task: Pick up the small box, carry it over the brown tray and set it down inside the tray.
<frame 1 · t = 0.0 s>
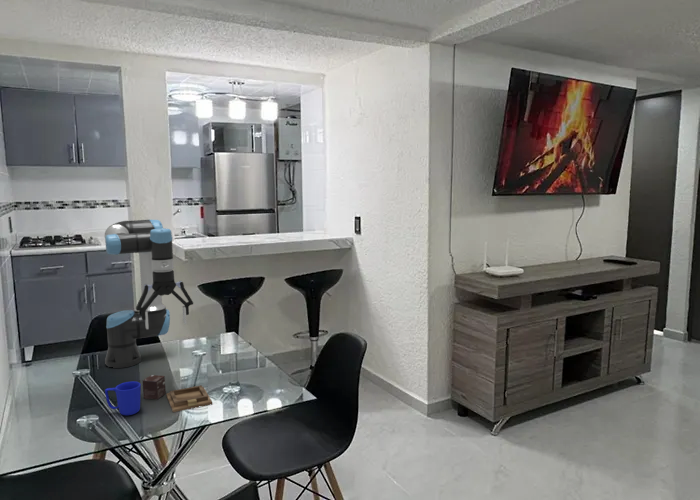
hand: (166, 325, 195), 28 cm above the table, fingers open, 13 cm apart
mug: (124, 413, 185), on the table
box: (154, 396, 199), on the table
brown tray: (188, 400, 195), on the table
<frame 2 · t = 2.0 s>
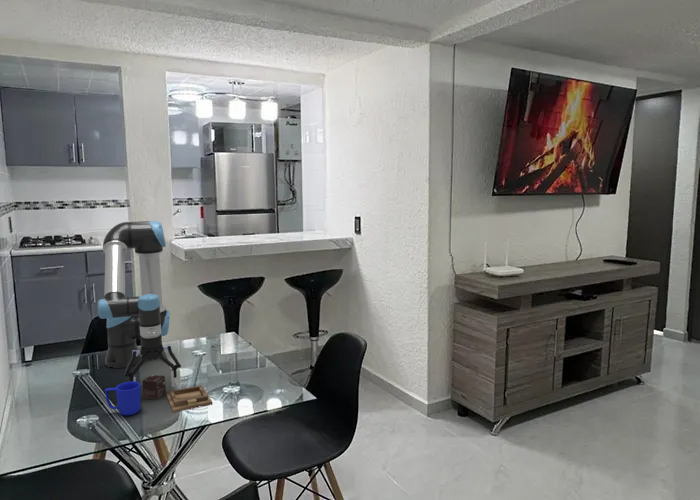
hand: (154, 389, 198), 3 cm above the table, fingers open, 13 cm apart
nothing on the table moved.
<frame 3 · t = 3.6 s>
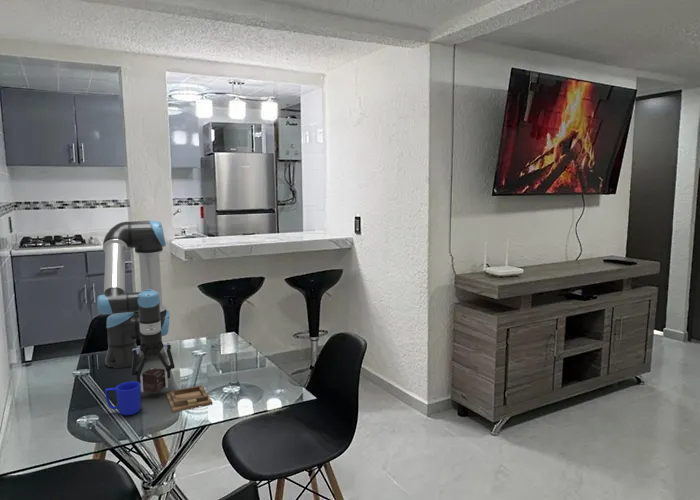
hand: (154, 388, 199), 3 cm above the table, fingers closed on box, 8 cm apart
box: (154, 389, 199), point 2 cm above the table, touching gripper
everything else where it was.
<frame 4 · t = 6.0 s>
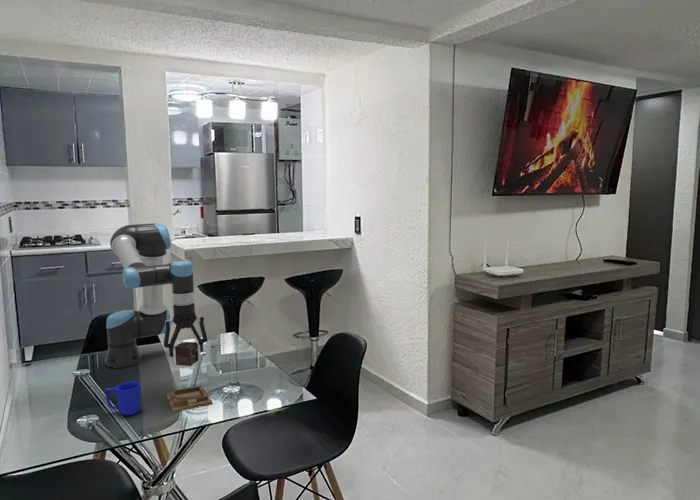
hand: (186, 362, 193), 15 cm above the table, fingers closed on box, 8 cm apart
box: (186, 363, 193), point 14 cm above the table, touching gripper
everything else where it was.
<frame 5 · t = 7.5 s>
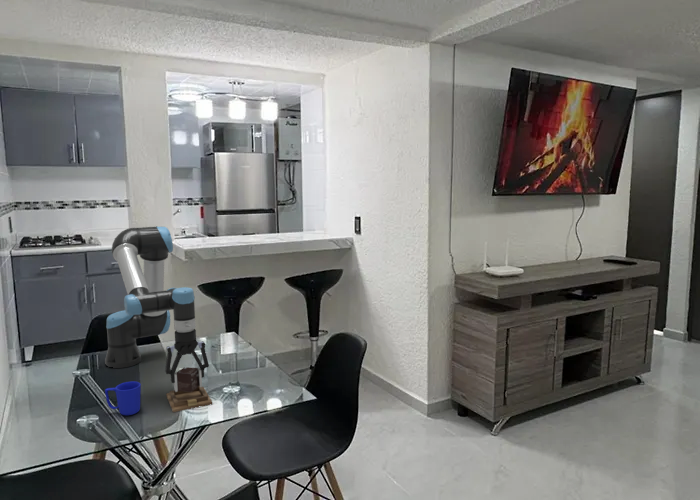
hand: (188, 388, 194), 5 cm above the table, fingers closed on box, 8 cm apart
box: (188, 389, 194), point 4 cm above the table, touching gripper
everything else where it was.
when the fingers open (3 cm above the table, at t = 8.4 s): box drops 2 cm, resting on brown tray.
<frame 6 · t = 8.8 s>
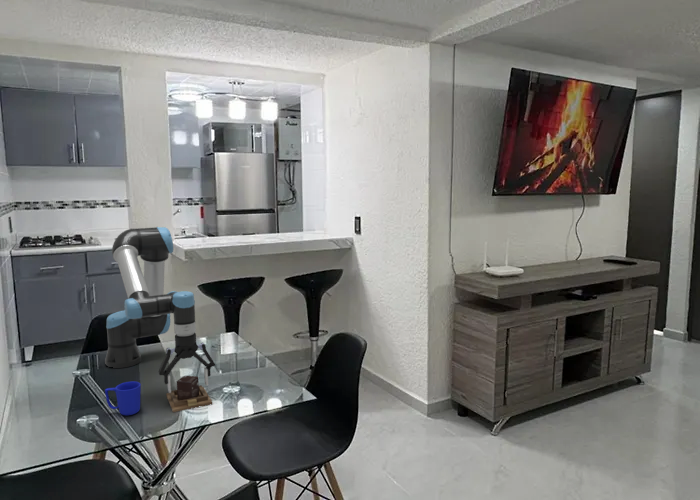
hand: (188, 388, 194), 5 cm above the table, fingers open, 13 cm apart
box: (188, 397, 195), point 1 cm above the table, touching brown tray
everything else where it was.
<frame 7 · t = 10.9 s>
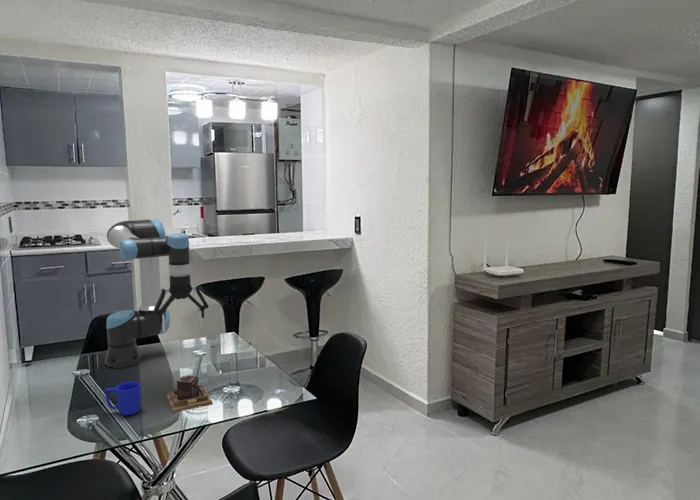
hand: (182, 328, 199), 26 cm above the table, fingers open, 13 cm apart
nothing on the table moved.
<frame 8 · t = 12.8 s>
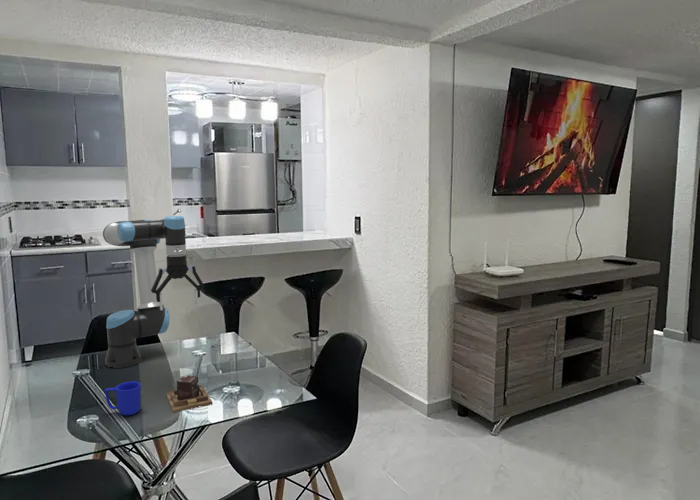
hand: (179, 307, 207), 32 cm above the table, fingers open, 13 cm apart
nothing on the table moved.
at the end: box 0.2 cm off-centre on the brown tray, point 0.8 cm above the brown tray's base; box tilted 0°; the gripper is holding nothing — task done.
